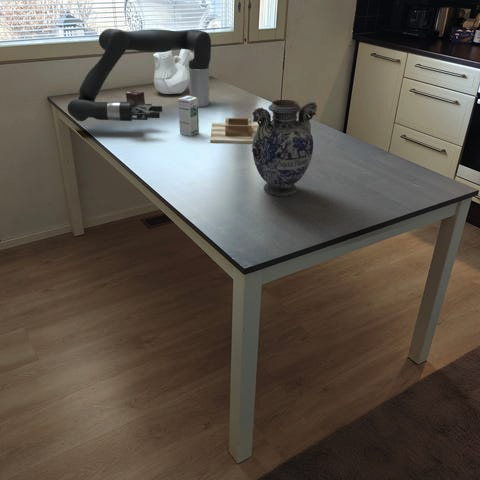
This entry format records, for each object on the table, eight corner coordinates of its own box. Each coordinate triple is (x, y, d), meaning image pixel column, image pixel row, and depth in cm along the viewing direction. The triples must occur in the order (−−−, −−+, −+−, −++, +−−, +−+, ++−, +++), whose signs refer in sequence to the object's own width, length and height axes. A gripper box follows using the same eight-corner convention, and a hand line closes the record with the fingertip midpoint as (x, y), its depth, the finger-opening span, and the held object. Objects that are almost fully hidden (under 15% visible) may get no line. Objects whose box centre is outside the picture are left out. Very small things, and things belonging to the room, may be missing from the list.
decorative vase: (262, 206, 158) (266, 114, 145) (238, 183, 173) (239, 98, 159) (324, 196, 166) (333, 107, 152) (295, 175, 181) (301, 92, 167)
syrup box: (190, 136, 212) (189, 100, 205) (179, 133, 215) (177, 98, 208) (199, 132, 216) (198, 97, 209) (187, 130, 219) (186, 95, 212)
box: (145, 107, 246) (144, 91, 243) (136, 110, 242) (135, 94, 238) (135, 105, 249) (134, 89, 245) (126, 108, 245) (125, 92, 241)
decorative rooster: (159, 99, 259) (156, 46, 246) (149, 91, 271) (146, 40, 259) (206, 94, 269) (206, 42, 256) (194, 87, 281) (193, 37, 269)
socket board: (212, 125, 225) (212, 113, 223) (263, 125, 226) (264, 114, 223) (210, 142, 206) (210, 130, 204) (266, 143, 207) (267, 131, 204)
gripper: (115, 107, 203) (158, 107, 203) (122, 97, 215) (162, 97, 215) (117, 126, 206) (159, 126, 207) (124, 115, 219) (163, 115, 219)
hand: (160, 112), depth 211 cm, fingers open, 8 cm apart
